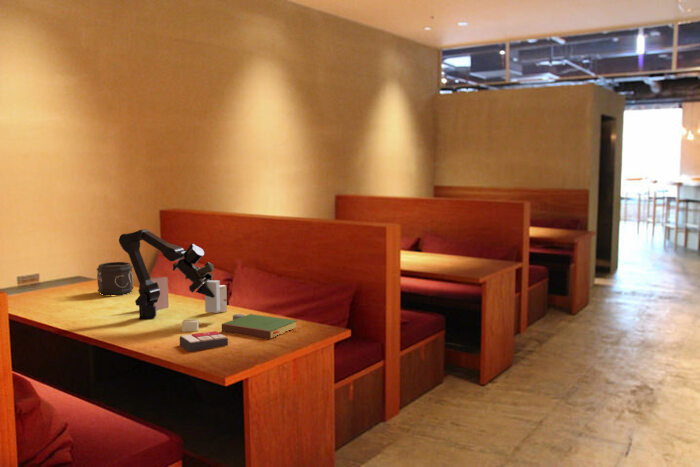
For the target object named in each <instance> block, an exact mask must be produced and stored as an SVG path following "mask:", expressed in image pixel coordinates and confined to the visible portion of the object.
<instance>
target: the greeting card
mask: <svg viewBox="0 0 700 467" xmlns="http://www.w3.org/2000/svg"><path fill="white" fill-rule="evenodd" d="M150 279H151V281H152V282H154V283H155V282H157V283H158V287H159V289H160V296H159V298H158V301H157V302H156V303H155V306H156V311H160V310H165V309H168V307H170V306H169V285H168V283H169V282H168V281H169V280H168V279H169V278H168V276H158V277H155V276H154V277H150ZM164 308H165V309H164ZM159 309H160V310H159Z"/></svg>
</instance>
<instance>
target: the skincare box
mask: <svg viewBox="0 0 700 467" xmlns="http://www.w3.org/2000/svg"><path fill="white" fill-rule="evenodd" d="M227 293H228V292H227V285H225V284H220V310H219V311H218V312H213V313H214V314H218V313H226V312H228V308H227V307H228V305H227V304H228V301H227V298H228V297H227V296H228V295H227Z"/></svg>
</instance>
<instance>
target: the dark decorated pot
mask: <svg viewBox="0 0 700 467" xmlns="http://www.w3.org/2000/svg"><path fill="white" fill-rule="evenodd" d="M133 269H134V268H133V265H132V264H131V263H130V262H128V261H127V262H125V261H114V262H113V261H112V262H110V261H109V262H105V263H101V264H99V265H98V267H97V268H96V271H97V274H96V275H97V276H96V277H97V278H96V280H97V288H98V289H97V292H98V293H99V294H100V293H101V294H103V295H121V296H124V295H123V294H126V295H128V294H127V293H129V294H131V293H132V292H133V290H134V287H135V286H133V285H134V277H133V276H134V275H133V274H134V273H133ZM130 292H131V293H130ZM103 295H102V296H103Z"/></svg>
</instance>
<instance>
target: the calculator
mask: <svg viewBox="0 0 700 467" xmlns="http://www.w3.org/2000/svg"><path fill="white" fill-rule="evenodd" d="M225 345H226V346H229V338H228V337H227V336H226V335H224V334H221V332H218V331H216V330H214V331H213V330H212V331H206V332H200V333H199V332H198V333H192V334H184V335H181V336H179V346H180V347H181V348H183V349H184V350H185V351H187V352H189V353H192V352H193V353H194V352H197V350H199V351H202V350H207V349H206V348H209V349H213V348H212V347H215V348H220V347H219V346H221V347H226V346H225Z"/></svg>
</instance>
